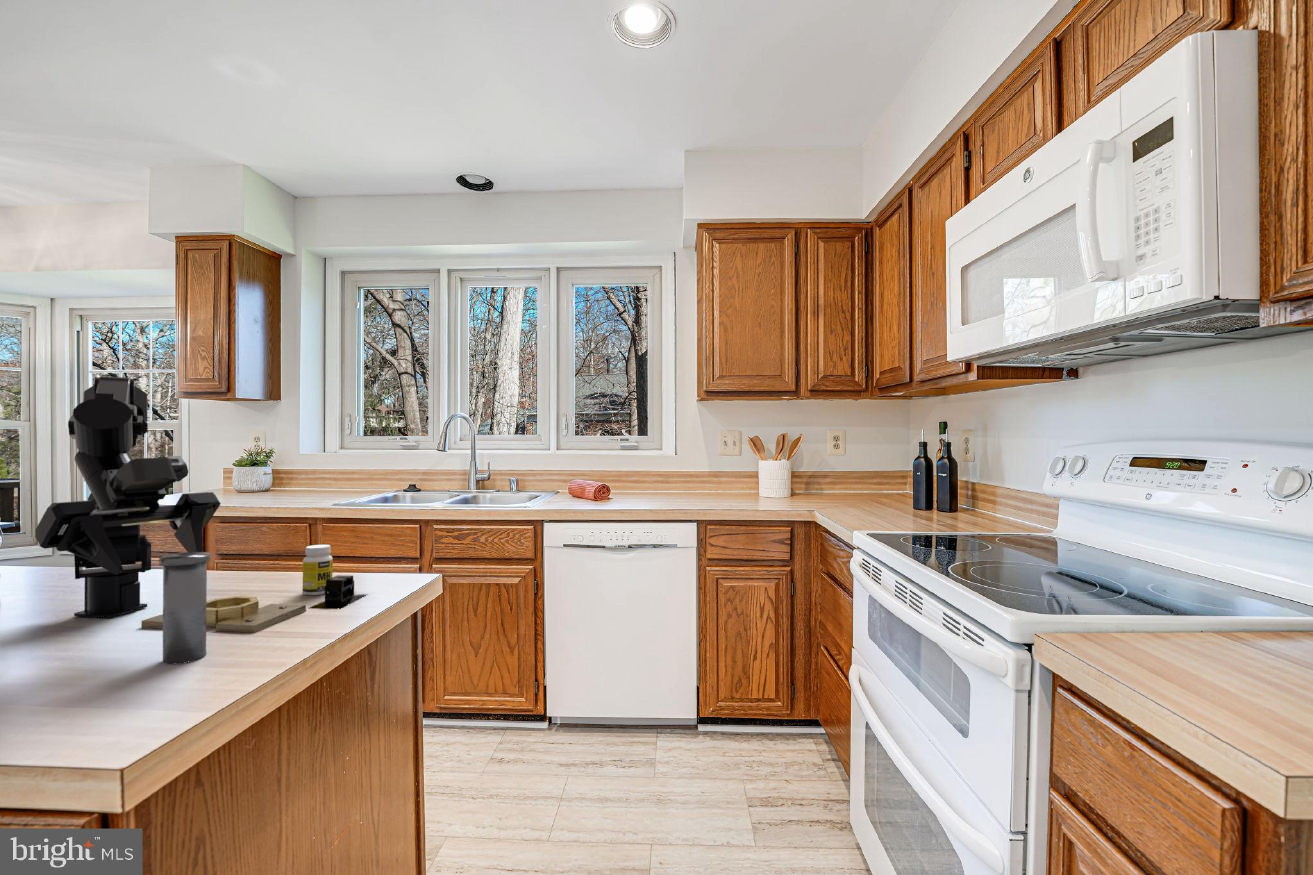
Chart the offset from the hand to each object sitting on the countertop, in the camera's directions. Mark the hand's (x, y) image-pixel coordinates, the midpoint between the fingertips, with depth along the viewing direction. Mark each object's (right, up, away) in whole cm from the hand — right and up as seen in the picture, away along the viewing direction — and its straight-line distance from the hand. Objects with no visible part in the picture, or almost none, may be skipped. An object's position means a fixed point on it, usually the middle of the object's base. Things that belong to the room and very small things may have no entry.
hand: (162, 565), depth 80 cm
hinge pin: (+4, -11, -2) cm, 12 cm away
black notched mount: (+10, -12, +26) cm, 30 cm away
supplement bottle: (+3, -12, +32) cm, 34 cm away
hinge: (-2, -11, +15) cm, 19 cm away
